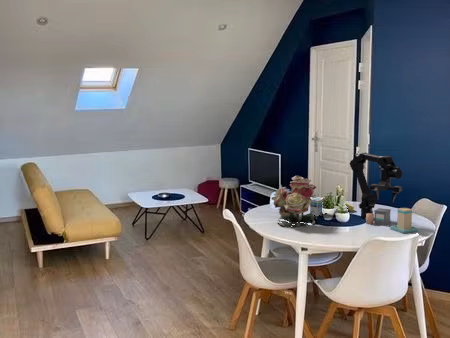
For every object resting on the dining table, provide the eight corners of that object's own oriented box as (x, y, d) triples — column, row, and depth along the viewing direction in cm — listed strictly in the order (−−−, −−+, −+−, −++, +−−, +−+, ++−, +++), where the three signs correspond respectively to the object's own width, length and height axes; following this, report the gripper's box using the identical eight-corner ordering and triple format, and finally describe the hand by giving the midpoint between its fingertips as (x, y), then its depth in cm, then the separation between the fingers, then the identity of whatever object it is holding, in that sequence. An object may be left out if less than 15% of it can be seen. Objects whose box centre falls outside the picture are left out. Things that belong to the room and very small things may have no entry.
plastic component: (355, 208, 342) (344, 203, 339) (350, 217, 342) (339, 212, 339) (341, 200, 360) (330, 195, 357) (337, 209, 361) (326, 204, 358)
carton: (397, 228, 293) (397, 208, 292) (404, 227, 295) (405, 207, 294) (403, 230, 288) (404, 210, 287) (411, 229, 290) (412, 209, 289)
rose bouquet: (270, 218, 327) (270, 173, 323) (315, 217, 327) (315, 172, 322) (273, 228, 302) (273, 179, 298) (322, 228, 301) (322, 178, 297)
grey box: (373, 223, 308) (374, 210, 307) (378, 220, 315) (379, 208, 314) (386, 225, 304) (386, 212, 302) (390, 222, 310) (391, 209, 309)
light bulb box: (317, 216, 330) (317, 200, 329) (309, 214, 335) (309, 199, 334) (327, 213, 337) (327, 198, 335) (319, 212, 342) (319, 196, 341)
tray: (390, 229, 295) (390, 226, 295) (405, 227, 299) (405, 224, 299) (403, 233, 285) (403, 230, 285) (418, 231, 289) (418, 228, 289)
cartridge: (364, 223, 309) (365, 214, 308) (367, 222, 312) (367, 212, 311) (371, 224, 306) (372, 215, 305) (374, 223, 309) (374, 213, 309)
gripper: (365, 177, 306) (365, 202, 308) (396, 179, 295) (395, 205, 297) (372, 174, 315) (372, 199, 317) (402, 177, 304) (401, 202, 306)
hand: (385, 201), depth 309 cm, fingers open, 9 cm apart
